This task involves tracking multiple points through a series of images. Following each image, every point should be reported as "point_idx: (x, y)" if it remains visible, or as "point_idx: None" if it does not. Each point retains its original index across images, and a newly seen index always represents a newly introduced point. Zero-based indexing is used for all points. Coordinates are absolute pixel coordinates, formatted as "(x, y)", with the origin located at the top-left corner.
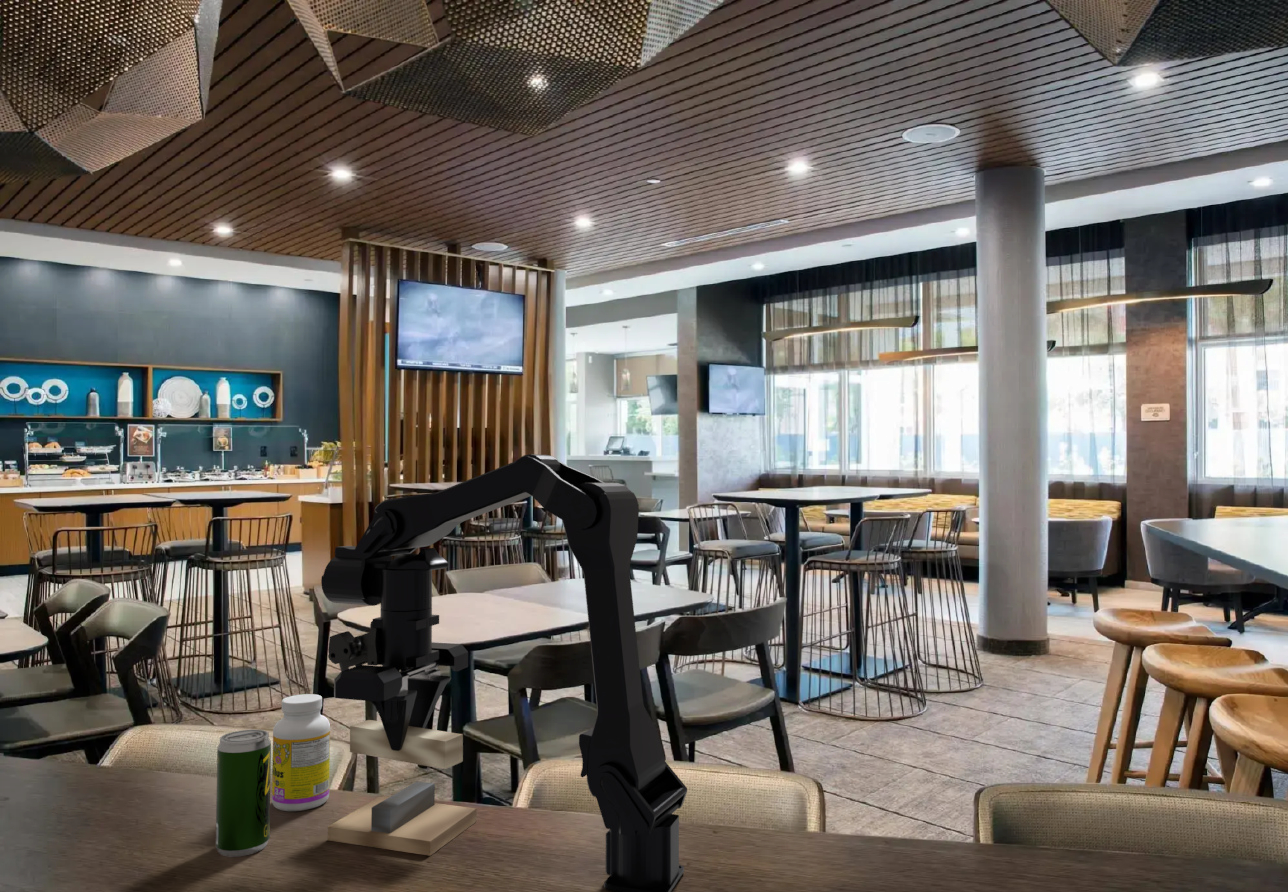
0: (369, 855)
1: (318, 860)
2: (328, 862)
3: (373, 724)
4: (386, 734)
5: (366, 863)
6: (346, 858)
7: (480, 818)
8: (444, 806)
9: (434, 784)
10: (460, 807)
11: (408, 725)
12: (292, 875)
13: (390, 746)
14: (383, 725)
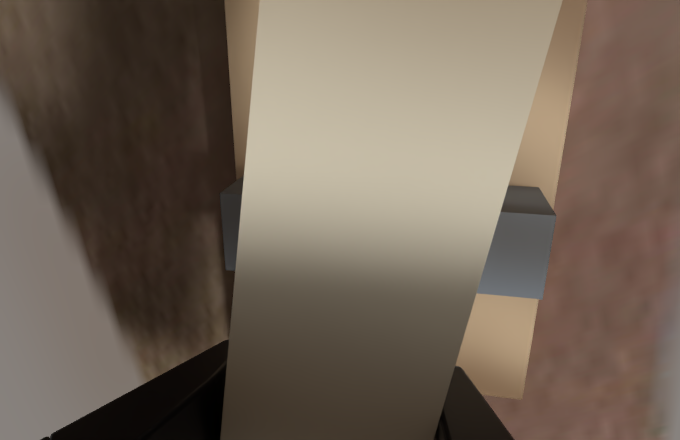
0: (205, 194)
1: (121, 72)
2: (124, 110)
3: (399, 103)
4: (144, 386)
5: (163, 214)
6: (164, 143)
7: (545, 374)
8: (518, 299)
9: (540, 296)
10: (520, 350)
11: (441, 426)
12: (25, 65)
13: (214, 346)
14: (74, 425)
